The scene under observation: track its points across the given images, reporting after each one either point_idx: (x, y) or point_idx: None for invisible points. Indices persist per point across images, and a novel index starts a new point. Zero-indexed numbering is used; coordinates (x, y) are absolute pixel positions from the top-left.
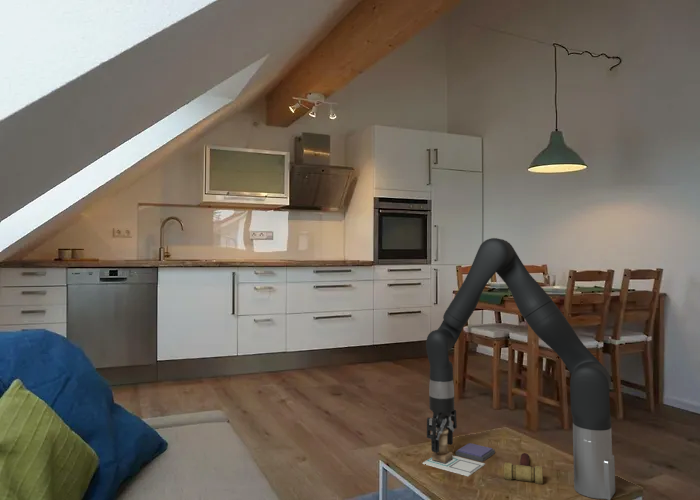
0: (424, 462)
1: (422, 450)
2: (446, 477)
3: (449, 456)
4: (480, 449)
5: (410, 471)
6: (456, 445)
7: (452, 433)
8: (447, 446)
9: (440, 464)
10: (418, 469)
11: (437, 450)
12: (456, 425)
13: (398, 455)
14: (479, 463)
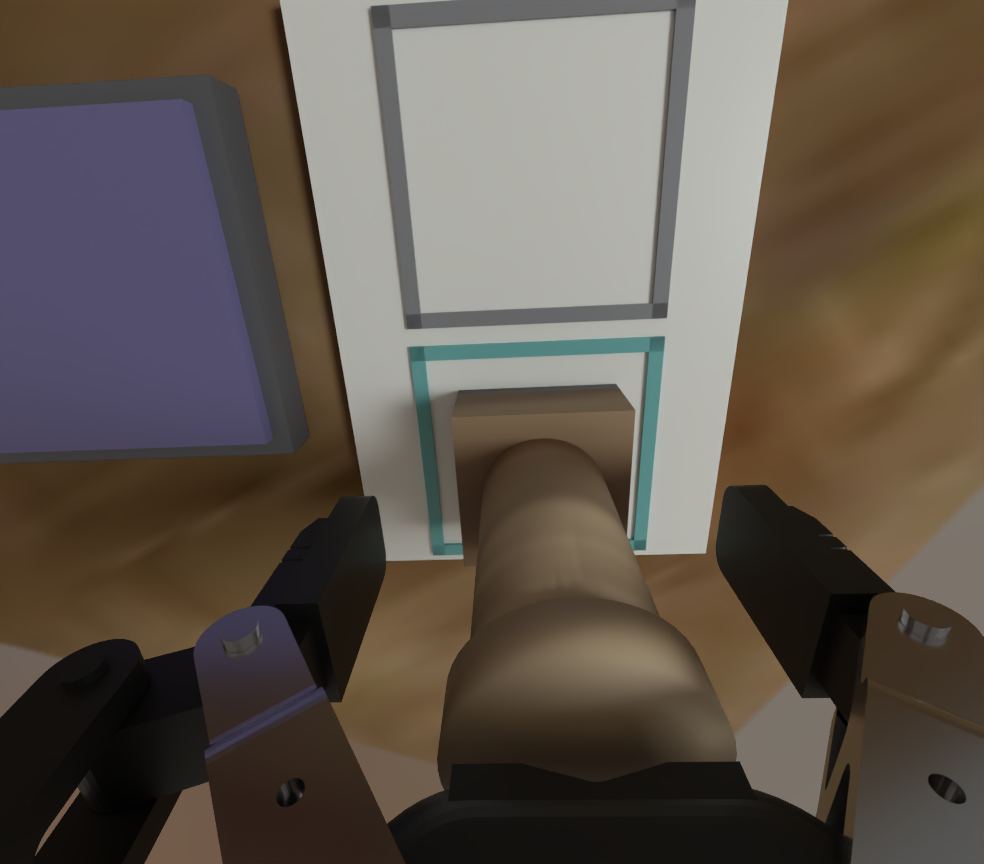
0: (691, 544)
1: (432, 678)
2: (928, 194)
3: (528, 404)
4: (16, 241)
5: (920, 535)
6: (102, 548)
7: (289, 593)
8: (517, 484)
9: (658, 414)
10: (844, 510)
11: (773, 499)
12: (32, 694)
13: None
14: (333, 69)
